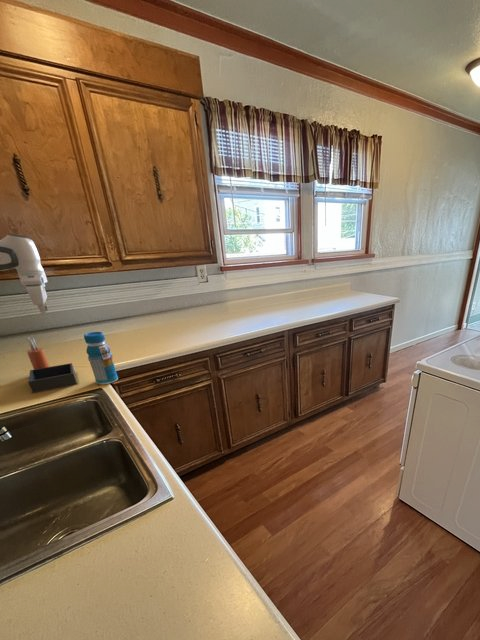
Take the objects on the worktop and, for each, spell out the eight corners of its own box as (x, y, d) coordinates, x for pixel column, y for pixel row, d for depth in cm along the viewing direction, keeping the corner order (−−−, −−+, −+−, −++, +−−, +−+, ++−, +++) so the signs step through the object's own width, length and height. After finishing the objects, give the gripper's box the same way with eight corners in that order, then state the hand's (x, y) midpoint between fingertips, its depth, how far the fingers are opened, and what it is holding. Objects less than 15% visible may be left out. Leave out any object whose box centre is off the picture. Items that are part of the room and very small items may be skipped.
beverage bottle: (94, 386, 130) (79, 337, 121) (97, 378, 137) (82, 332, 128) (118, 383, 133) (104, 335, 124) (119, 375, 140) (106, 330, 131)
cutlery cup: (36, 377, 139) (20, 339, 131) (36, 373, 143) (21, 336, 135) (52, 375, 141) (37, 337, 134) (52, 371, 145) (38, 334, 138)
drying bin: (32, 392, 125) (28, 381, 123) (34, 380, 136) (30, 370, 134) (77, 383, 133) (73, 373, 131) (75, 372, 143) (71, 363, 141)
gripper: (26, 276, 141) (38, 308, 147) (20, 281, 125) (33, 317, 131) (44, 275, 144) (54, 307, 150) (40, 280, 128) (52, 315, 134)
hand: (44, 312), depth 141 cm, fingers open, 8 cm apart
